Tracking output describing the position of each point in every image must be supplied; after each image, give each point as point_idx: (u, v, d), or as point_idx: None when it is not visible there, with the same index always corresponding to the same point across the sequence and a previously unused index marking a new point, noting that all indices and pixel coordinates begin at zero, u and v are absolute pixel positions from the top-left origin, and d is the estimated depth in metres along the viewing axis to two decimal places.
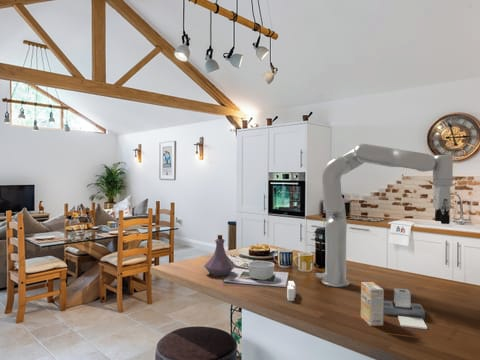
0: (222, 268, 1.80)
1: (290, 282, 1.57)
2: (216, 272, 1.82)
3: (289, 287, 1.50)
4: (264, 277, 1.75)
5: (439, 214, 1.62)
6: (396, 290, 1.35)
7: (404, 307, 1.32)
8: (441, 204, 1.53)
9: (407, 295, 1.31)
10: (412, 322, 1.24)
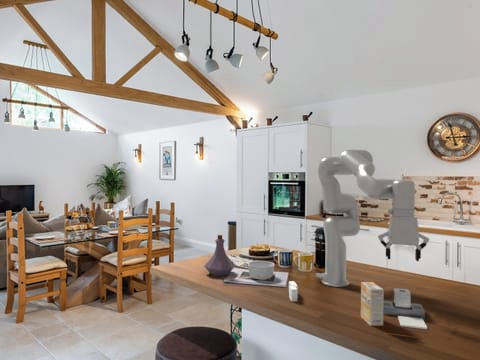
0: (222, 268, 1.80)
1: (291, 282, 1.56)
2: (216, 273, 1.82)
3: (292, 287, 1.49)
4: (264, 277, 1.75)
5: None
6: (396, 290, 1.35)
7: (404, 307, 1.32)
8: (418, 238, 1.31)
9: (407, 295, 1.31)
10: (412, 322, 1.24)
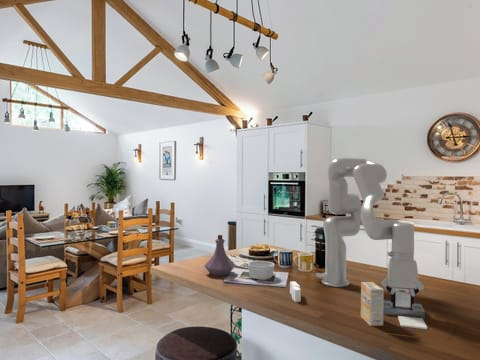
0: (222, 268, 1.80)
1: (293, 283, 1.56)
2: (216, 273, 1.82)
3: (295, 288, 1.48)
4: (264, 277, 1.75)
5: None
6: (396, 290, 1.35)
7: (404, 307, 1.32)
8: (418, 282, 1.31)
9: (407, 295, 1.31)
10: (412, 322, 1.24)
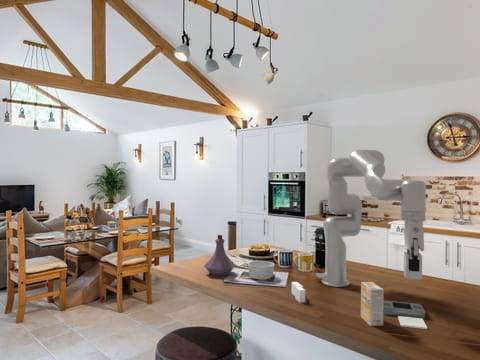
0: (222, 268, 1.80)
1: (295, 283, 1.55)
2: (216, 273, 1.82)
3: (299, 288, 1.48)
4: (264, 277, 1.75)
5: None
6: None
7: None
8: None
9: None
10: (412, 322, 1.24)
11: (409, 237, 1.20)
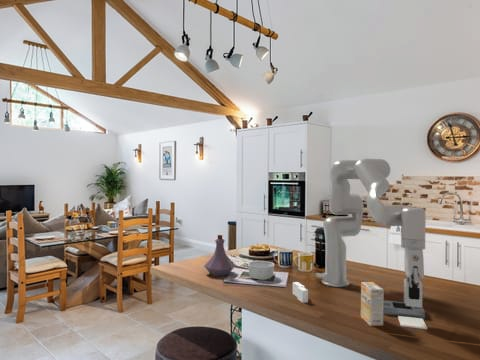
0: (222, 268, 1.80)
1: (296, 283, 1.55)
2: (216, 273, 1.82)
3: (301, 289, 1.48)
4: (264, 277, 1.75)
5: None
6: None
7: None
8: None
9: None
10: (412, 322, 1.24)
11: (409, 265, 1.20)
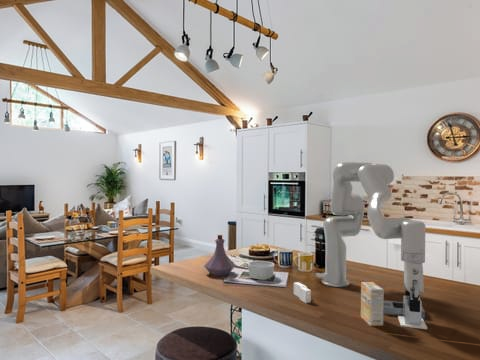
0: (222, 268, 1.80)
1: (298, 284, 1.54)
2: (216, 273, 1.82)
3: (304, 289, 1.47)
4: (264, 277, 1.75)
5: None
6: None
7: None
8: None
9: None
10: None
11: (409, 279, 1.20)
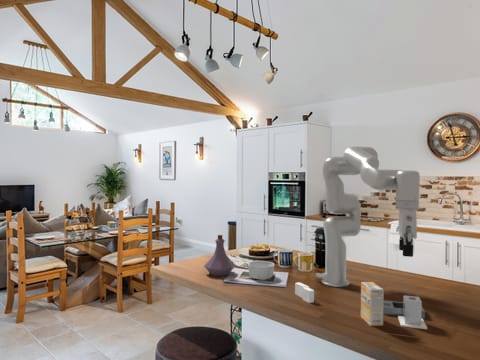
0: (222, 268, 1.80)
1: (300, 284, 1.54)
2: (216, 272, 1.82)
3: (307, 289, 1.47)
4: (264, 277, 1.75)
5: None
6: (413, 300, 1.23)
7: None
8: None
9: None
10: None
11: (402, 225, 1.25)
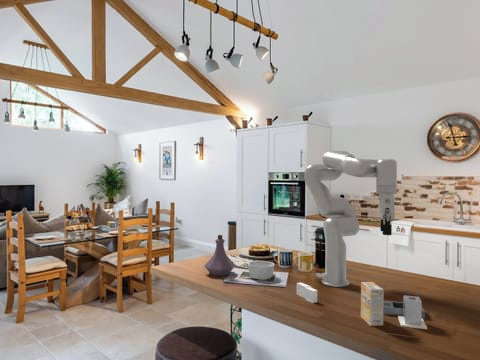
0: (222, 268, 1.80)
1: (301, 284, 1.54)
2: (216, 273, 1.82)
3: (310, 289, 1.47)
4: (264, 277, 1.75)
5: None
6: (413, 300, 1.23)
7: None
8: None
9: None
10: None
11: (382, 207, 1.40)
